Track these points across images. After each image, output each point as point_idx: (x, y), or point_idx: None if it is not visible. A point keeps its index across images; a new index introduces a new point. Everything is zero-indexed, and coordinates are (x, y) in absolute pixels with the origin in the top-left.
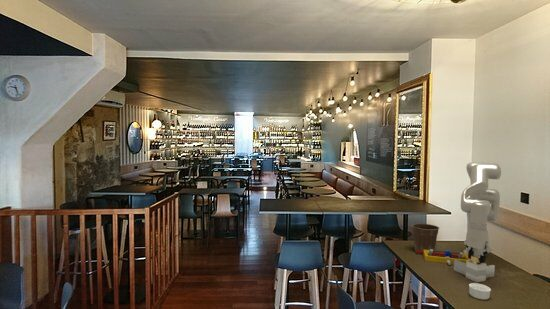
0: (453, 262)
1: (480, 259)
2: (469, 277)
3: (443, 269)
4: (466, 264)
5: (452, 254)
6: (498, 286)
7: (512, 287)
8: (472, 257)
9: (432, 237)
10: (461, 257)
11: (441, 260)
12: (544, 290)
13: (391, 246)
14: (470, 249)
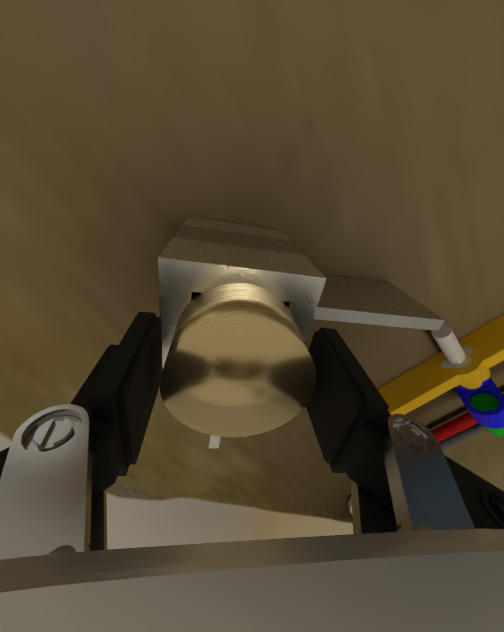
0: (425, 370)
1: (128, 339)
2: (251, 228)
3: (447, 232)
4: (309, 261)
5: (457, 432)
6: (88, 289)
7: (59, 346)
8: (262, 321)
9: None
10: None
11: (492, 335)
12: (3, 432)
13: None
14: (380, 462)
